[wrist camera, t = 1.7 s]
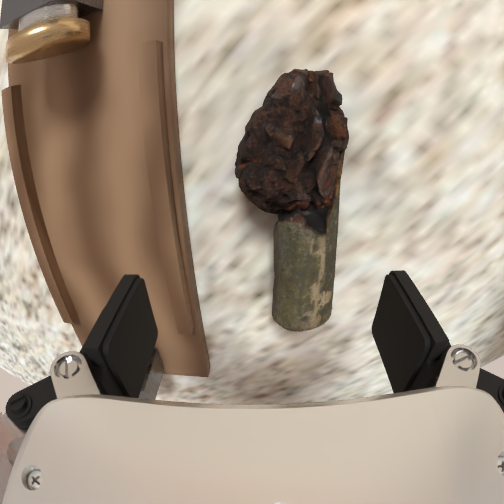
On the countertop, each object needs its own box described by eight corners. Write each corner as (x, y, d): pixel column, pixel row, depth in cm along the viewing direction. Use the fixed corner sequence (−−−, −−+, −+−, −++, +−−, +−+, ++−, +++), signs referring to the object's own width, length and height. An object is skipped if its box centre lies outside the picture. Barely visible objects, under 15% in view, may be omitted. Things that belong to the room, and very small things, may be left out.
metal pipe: (327, 294, 26) (338, 342, 21) (249, 295, 26) (244, 344, 21) (339, 73, 17) (363, 69, 12) (235, 73, 17) (223, 67, 13)
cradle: (174, -45, 12) (163, -59, 10) (210, 366, 31) (206, 386, 29) (21, 11, 13) (0, 9, 11) (95, 353, 32) (87, 370, 29)
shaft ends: (109, -26, 12) (63, -49, 7) (167, 368, 29) (154, 414, 24) (45, 0, 12) (-6, -9, 7) (119, 362, 30) (102, 404, 24)
